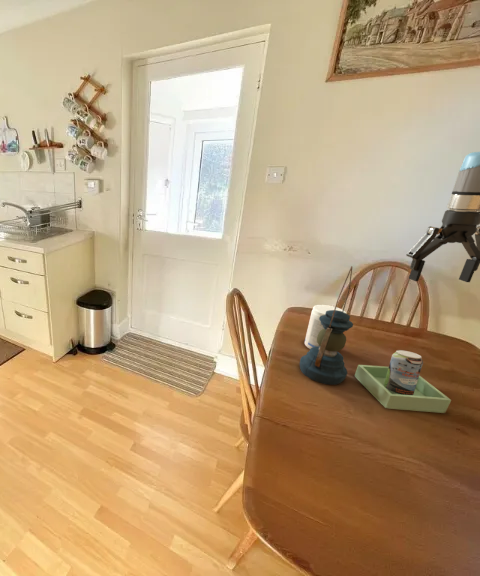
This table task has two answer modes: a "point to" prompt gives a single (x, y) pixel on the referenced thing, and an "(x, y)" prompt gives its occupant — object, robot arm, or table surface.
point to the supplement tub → (316, 324)
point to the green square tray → (421, 400)
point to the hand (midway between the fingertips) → (438, 280)
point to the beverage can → (403, 372)
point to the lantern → (328, 347)
